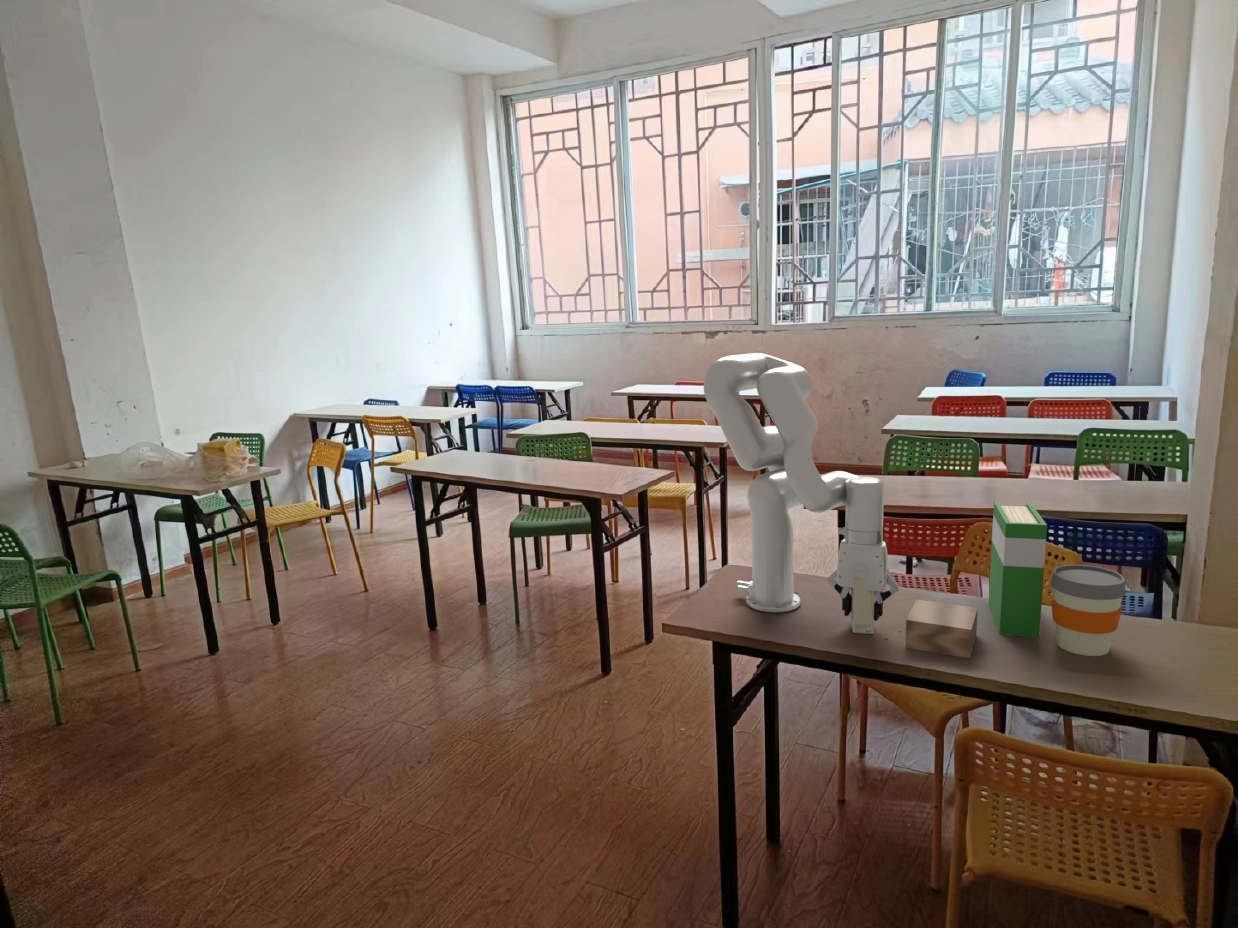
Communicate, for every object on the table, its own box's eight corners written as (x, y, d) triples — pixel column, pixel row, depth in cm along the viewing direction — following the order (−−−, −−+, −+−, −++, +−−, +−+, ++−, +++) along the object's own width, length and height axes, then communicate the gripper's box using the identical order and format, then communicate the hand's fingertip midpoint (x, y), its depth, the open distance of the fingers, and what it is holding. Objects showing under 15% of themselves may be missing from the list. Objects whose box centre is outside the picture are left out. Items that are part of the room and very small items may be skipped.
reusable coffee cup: (1035, 646, 154) (1040, 575, 151) (1061, 627, 161) (1066, 559, 159) (1106, 666, 144) (1112, 591, 141) (1129, 645, 152) (1136, 574, 149)
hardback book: (988, 602, 176) (993, 501, 172) (1024, 605, 174) (1030, 503, 169) (999, 633, 160) (1005, 523, 155) (1039, 637, 158) (1047, 525, 153)
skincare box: (874, 634, 162) (875, 579, 160) (852, 633, 163) (853, 579, 161) (870, 622, 168) (872, 569, 166) (850, 621, 169) (851, 569, 167)
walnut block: (905, 647, 156) (906, 619, 154) (915, 625, 166) (916, 599, 165) (969, 658, 150) (971, 629, 148) (976, 635, 160) (977, 608, 159)
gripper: (818, 535, 163) (817, 616, 166) (903, 545, 154) (900, 629, 158) (827, 526, 169) (827, 604, 173) (909, 535, 160) (907, 616, 164)
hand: (862, 615), depth 165 cm, fingers closed on skincare box, 5 cm apart
